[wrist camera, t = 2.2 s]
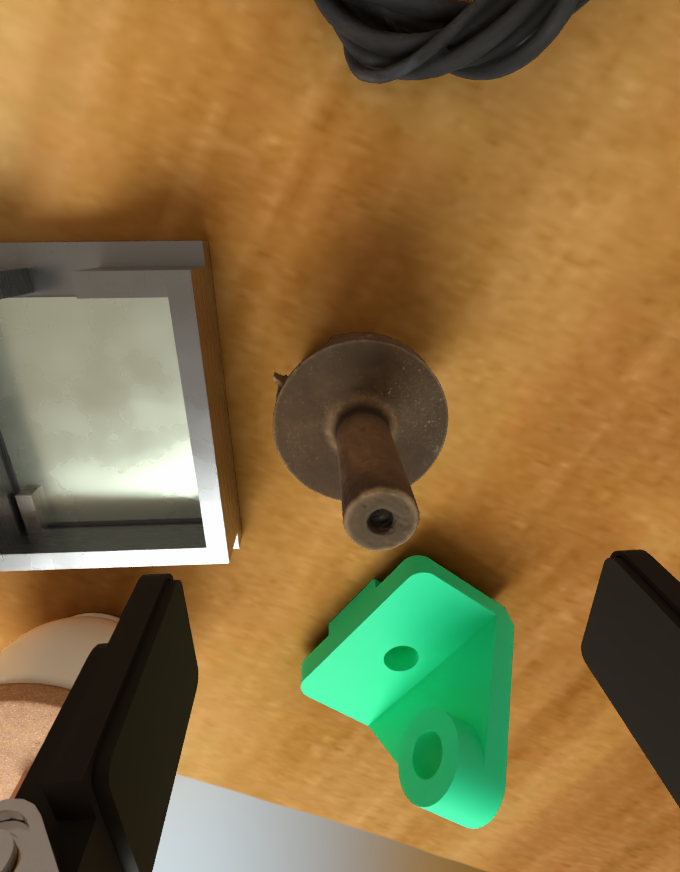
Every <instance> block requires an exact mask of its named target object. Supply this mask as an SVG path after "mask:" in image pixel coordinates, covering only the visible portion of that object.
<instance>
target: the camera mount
mask: <svg viewBox="0 0 680 872" xmlns="http://www.w3.org/2000/svg"><path fill="white" fill-rule="evenodd" d="M513 638H514V625H513V623H512V621H511V619H510V617H509V615H508V613H507V611H506V609H505V607H504V606H502V605H500V604H499V603H497V602H496V601H494V600H493V599H491V598H490V597H488V596H487V595H485V594H483V593H482V592H480V591H479V590H477V589H476V588H474V587H473V586H471V585H470V584H468V583H467V582H465V581H463V580H462V579H460V578H459V577H457V576H456V575H454V574H453V573H451V572H450V571H448V570H446V569H445V568H443V567H442V566H440V565H439V564H437V563H436V562H434V561H433V560H431V559H429V558H428V557H426V556H422V555H414V556H411V557H408V558H406V559H405V560H404V561H403V562H402V563H401V564H400V565H399V566H398V567H397V568H396V569H395V570H394V571H393V572H392V573H391V574H390V575H389V576H388V577H387V578H386V579H385V580H384V581H383V582H382V583H381V582H380V581H378V580H376V579H375V578H374V579H373V580H372V581H371V582H370V583H369V584H368V585H367V586H366V587H365V588H364V589H363V590H362V591H361V592H360V593H359V594H358V595H357V596H356V597H355V598H354V599H353V600H352V601H351V602H350V603H349V604H348V605H347V606H346V607H345V608H344V609H343V610H342V611H341V612H340V613H339V614H338V615H337V616H336V617H335V618H334V619H333V620H332V621H331V622H330V623H329V635H328V636H327V637H326V638H325V639H324V640H323V641H322V642H321V643H320V644H319V645H318V646H317V647H316V648H315V649H314V650H313V651H312V652H311V653H310V654H309V655H308V656H307V657H306V658H305V659H304V661H303V662H302V669H301V690H302V692H303V693H304V694H305V695H306V696H308V697H310V698H312V699H314V700H316V701H318V702H320V703H322V704H324V705H326V706H328V707H330V708H333V709H335V710H337V711H339V712H341V713H343V714H345V715H347V716H349V717H351V718H353V719H355V720H357V721H359V722H361V723H363V724H366V725H368V726H369V727H370V729H371V730H372V731H373V732H374V734H375V735H376V736H377V738H378V739H379V740H380V741H381V743H382V744H383V745H384V747H385V748H386V749H387V750H388V752H389V753H390V754H391V756H392V757H393V758H394V760H395V761H396V762H397V763H398V769H399V778H400V782H401V786H402V789H403V791H404V793H405V795H406V796H407V798H408V799H409V800H410V801H411V802H412V803H413V804H415V805H416V806H419V807H421V808H423V809H425V810H428V811H430V812H432V813H435V814H437V815H439V816H441V817H444V818H446V819H448V820H451V821H453V822H455V823H457V824H460V825H462V826H464V827H467V828H471V829H476V828H480V827H482V826H484V825H486V824H487V823H489V822H490V821H491V820H492V819H493V817H494V816H495V815H496V813H497V811H498V810H499V808H500V805H501V803H502V800H503V796H504V792H505V784H506V767H507V748H508V730H509V712H510V693H511V675H512V656H513Z"/></svg>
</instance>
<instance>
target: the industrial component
mask: <svg viewBox="0 0 680 872" xmlns="http://www.w3.org/2000/svg"><path fill="white" fill-rule="evenodd" d="M273 381H274V382H275V383H276V384H278V390H277V395H276V397H277V400H276V404H275V409H274V416H273V432H274V439H275V443H276V446H277V449H278V453H279V454H280V456H281V458H282V460H283V462H284V464H285V465H286V467H287V468H288V469H289V470H290V472H291V473H292V474H293V475H294V476H295V477H296V478H297V479H298V480H299V481H300V482H301V483H303V484H304V485H305V486H307V487H308V488H309V489H311V490H313V491H315V492H317V493H319V494H321V495H324V496H326V497H330V498H332V499H336V500H341V501H342V511H343V514H342V515H343V524H344V528H345V530H346V533H347V534H348V536H349V537H350V539H351V540H353V542H354V543H356V544H357V545H359V546H361V547H363V548H366V549H368V550H372V551H384V550H391V549H393V548H395V547H398V546H399V545H402V544H403V543H405V542H406V541H408V539H409V538H411V536H412V535H413V534H414V532H415V530H416V528H417V525H418V523H419V510H418V506H417V503H416V500H415V498H414V495H413V492H412V489H411V486H410V485H412V484H413V483H415V482H416V481H418V479H420V478H421V477H422V476H423V475H424V474H425V473H426V472H427V471H428V470H429V468H430V467H431V466H432V464H433V463H434V462H435V460H436V458H437V457H438V455H439V453H440V451H441V449H442V447H443V444H444V441H445V437H446V433H447V427H448V408H447V402H446V398H445V395H444V392H443V389H442V387H441V385H440V383H439V381H438V379H437V378H436V376H435V375H434V373H433V372H432V371H431V369H430V368H429V367H428V366H427V364H426V363H425V362H424V361H423V360H422V358H421V357H420V356H419V355H418V354H417V353H416V352H414V351H413V350H412V349H411V348H409V347H408V346H406V345H405V344H403V343H401V342H399V341H398V340H395V339H393V338H391V337H388V336H384V335H381V334H376V333H367V332H353V333H346V334H341V335H337V336H333V337H331V338H330V340H329V341H328V342H327V343H326V344H324V345H323V346H322V347H321V348H319V349H318V350H316V351H315V352H313V353H312V354H310V355H309V356H308V357H307V358H305V359H304V360H303V361H302V362H301V363H300V364H299V365H298V366H297V367H296V368H295V369H294V370H293V371H292V372H291V374H290V375H289V376H287V375H285V376H282V375H279V374H278V373H276V372H274V376H273Z"/></svg>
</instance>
